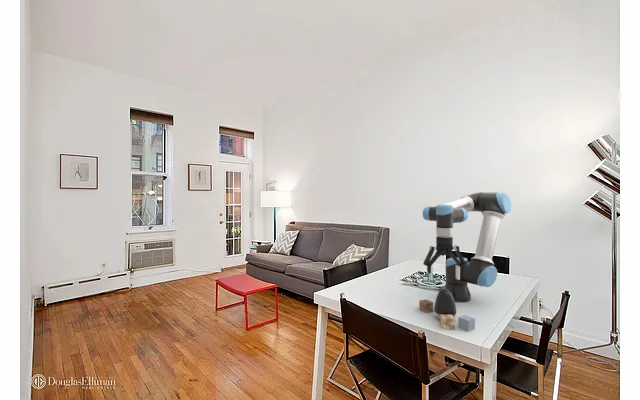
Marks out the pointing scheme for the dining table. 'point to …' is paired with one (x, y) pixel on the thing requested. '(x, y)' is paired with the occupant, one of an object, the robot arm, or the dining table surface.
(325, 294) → the dining table surface
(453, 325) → the maple cube
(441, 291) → the black rounded cone
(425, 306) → the walnut cube
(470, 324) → the slate cube
